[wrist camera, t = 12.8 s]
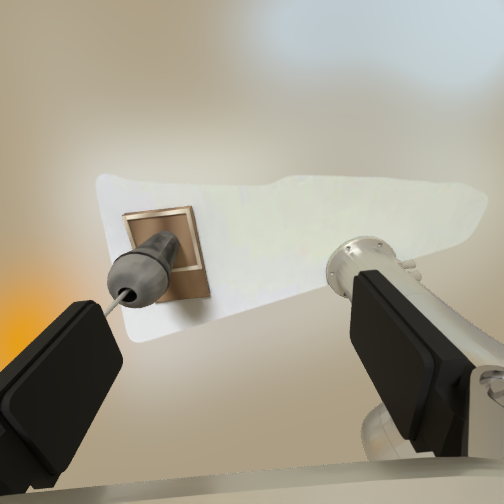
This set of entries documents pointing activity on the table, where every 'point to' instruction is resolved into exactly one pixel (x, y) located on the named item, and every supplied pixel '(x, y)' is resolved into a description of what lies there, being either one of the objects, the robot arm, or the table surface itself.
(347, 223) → the table surface
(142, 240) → the walnut board
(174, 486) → the robot arm
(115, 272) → the beverage cup
